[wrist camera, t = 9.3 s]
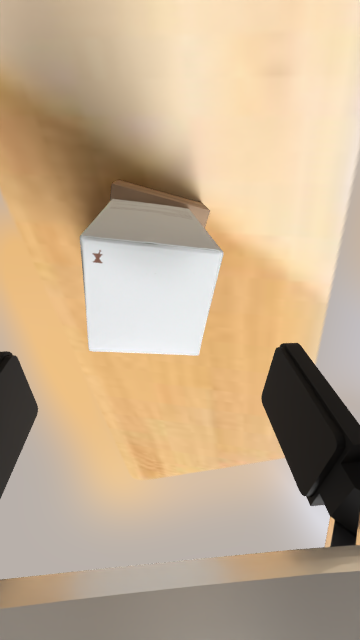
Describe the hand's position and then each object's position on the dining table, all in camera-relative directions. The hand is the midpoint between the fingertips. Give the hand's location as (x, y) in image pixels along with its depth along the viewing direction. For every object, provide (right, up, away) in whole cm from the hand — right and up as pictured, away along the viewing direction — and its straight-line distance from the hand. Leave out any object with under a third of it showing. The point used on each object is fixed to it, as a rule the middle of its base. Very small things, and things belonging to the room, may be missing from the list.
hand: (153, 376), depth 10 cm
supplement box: (-2, +10, +16) cm, 19 cm away
